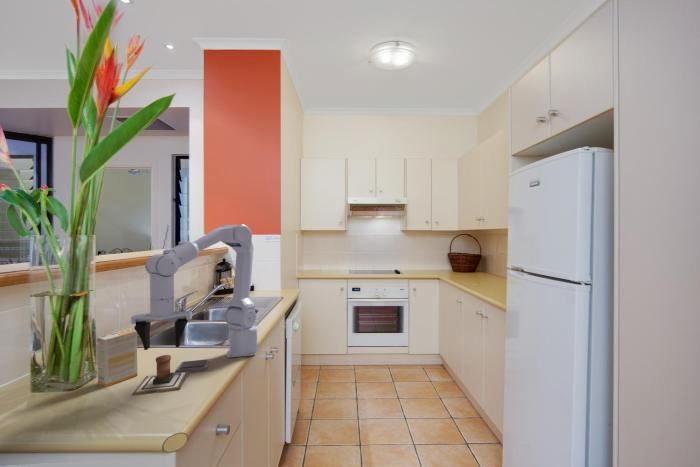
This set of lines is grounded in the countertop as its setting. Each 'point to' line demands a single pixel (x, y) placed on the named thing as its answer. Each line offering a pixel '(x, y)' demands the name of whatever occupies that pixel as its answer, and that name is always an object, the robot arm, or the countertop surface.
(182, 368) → the ink pad
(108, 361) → the supplement box
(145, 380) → the board
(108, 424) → the countertop surface
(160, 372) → the stamp
